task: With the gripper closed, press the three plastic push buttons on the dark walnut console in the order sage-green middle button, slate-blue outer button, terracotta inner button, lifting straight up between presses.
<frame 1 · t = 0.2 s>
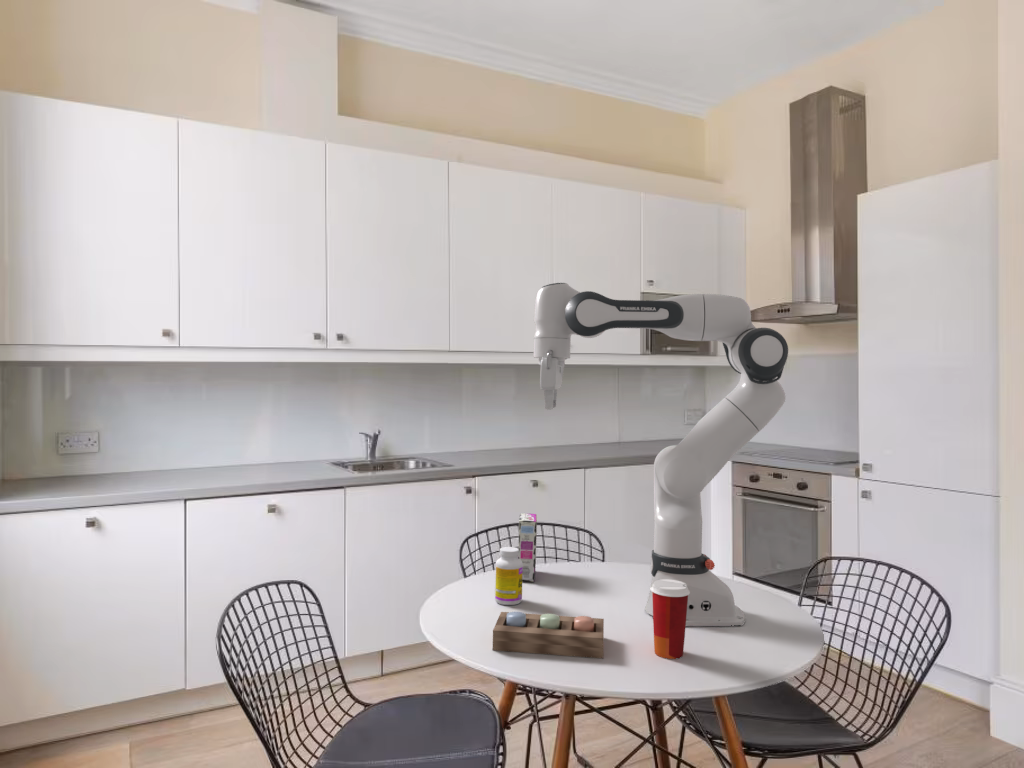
hand: (550, 408, 166), 47 cm above the table, tool pointing down, fingers open, 8 cm apart
supplement bottle: (508, 602, 168), on the table
candy bar box: (526, 576, 189), on the table
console: (549, 643, 142), on the table
paper cup: (668, 654, 138), on the table
button sage: (549, 623, 142), point 4 cm above the table, slide at 0.0 cm
button terracotta: (583, 625, 141), point 4 cm above the table, slide at 0.0 cm
button slate: (516, 620, 143), point 4 cm above the table, slide at 0.0 cm
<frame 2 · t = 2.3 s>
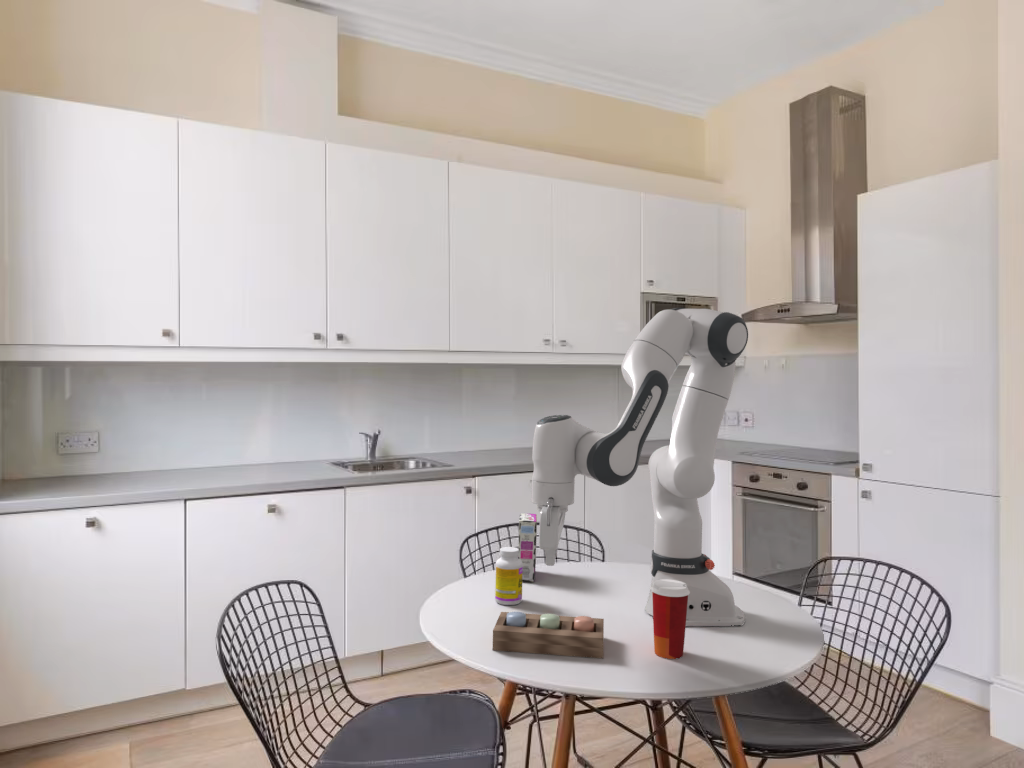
hand: (551, 561, 142), 17 cm above the table, tool pointing down, fingers open, 4 cm apart
nothing on the table moved.
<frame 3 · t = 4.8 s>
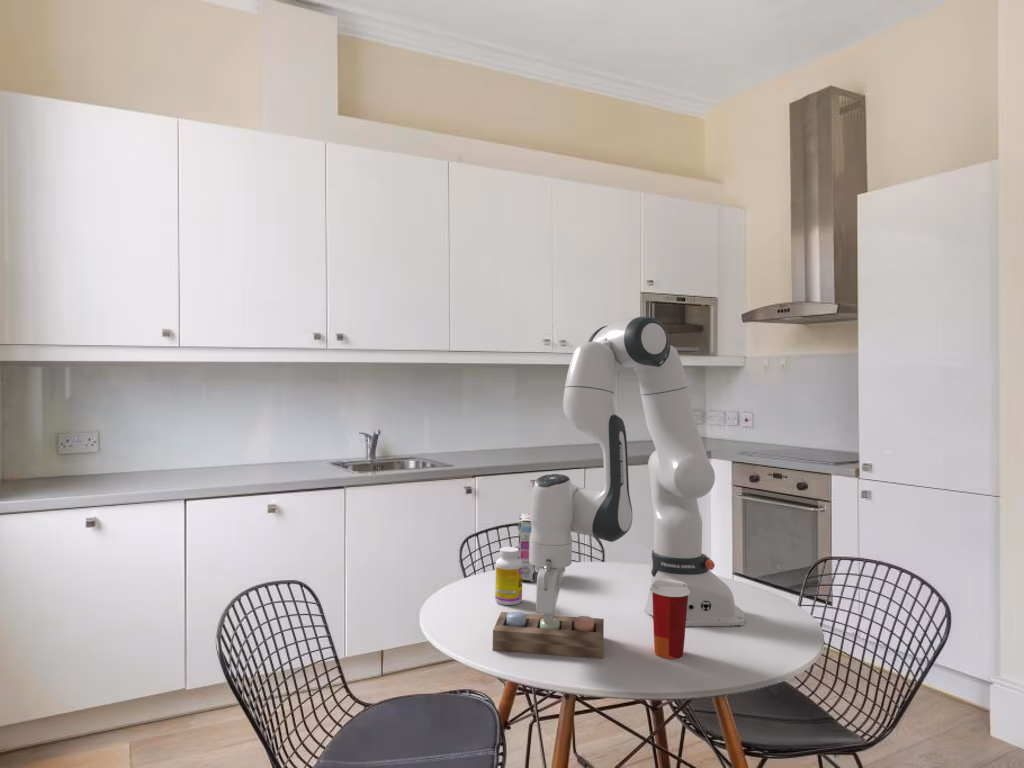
hand: (548, 621, 142), 5 cm above the table, tool pointing down, fingers closed, pressing on button sage
button sage: (549, 627, 142), point 3 cm above the table, slide at 0.9 cm, touching gripper
everything else where it was.
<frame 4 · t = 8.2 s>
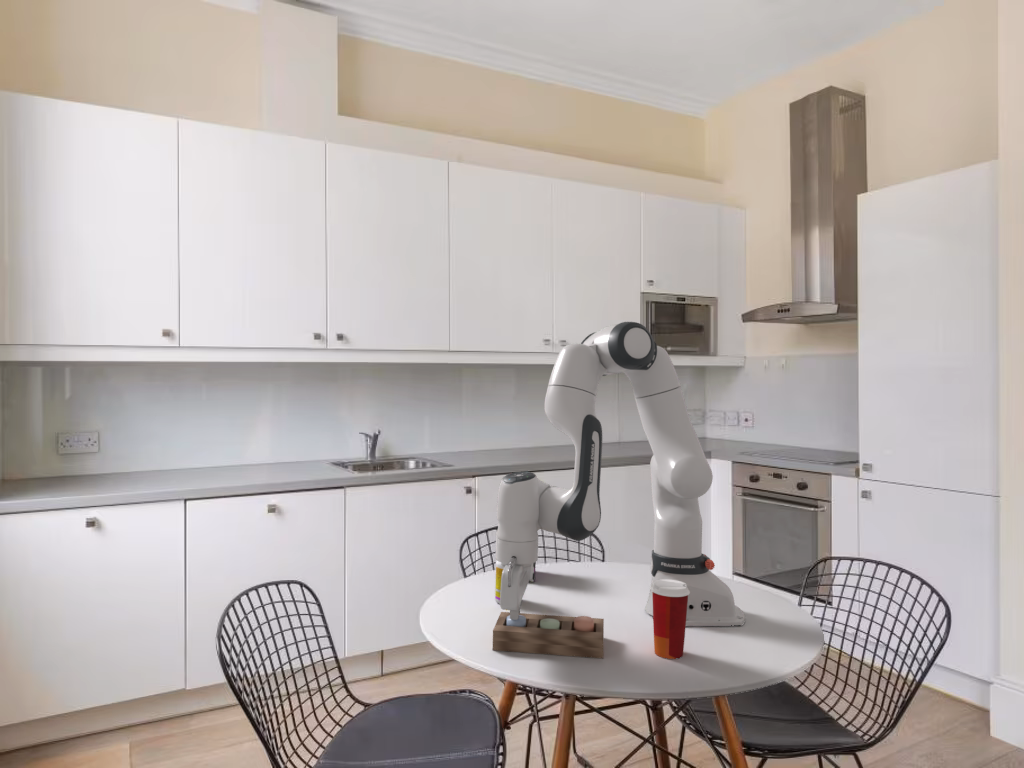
hand: (514, 617, 143), 5 cm above the table, tool pointing down, fingers closed, pressing on button slate
button sage: (549, 627, 142), point 3 cm above the table, slide at 1.0 cm
button slate: (516, 623, 143), point 4 cm above the table, slide at 0.7 cm, touching gripper
everything else where it was.
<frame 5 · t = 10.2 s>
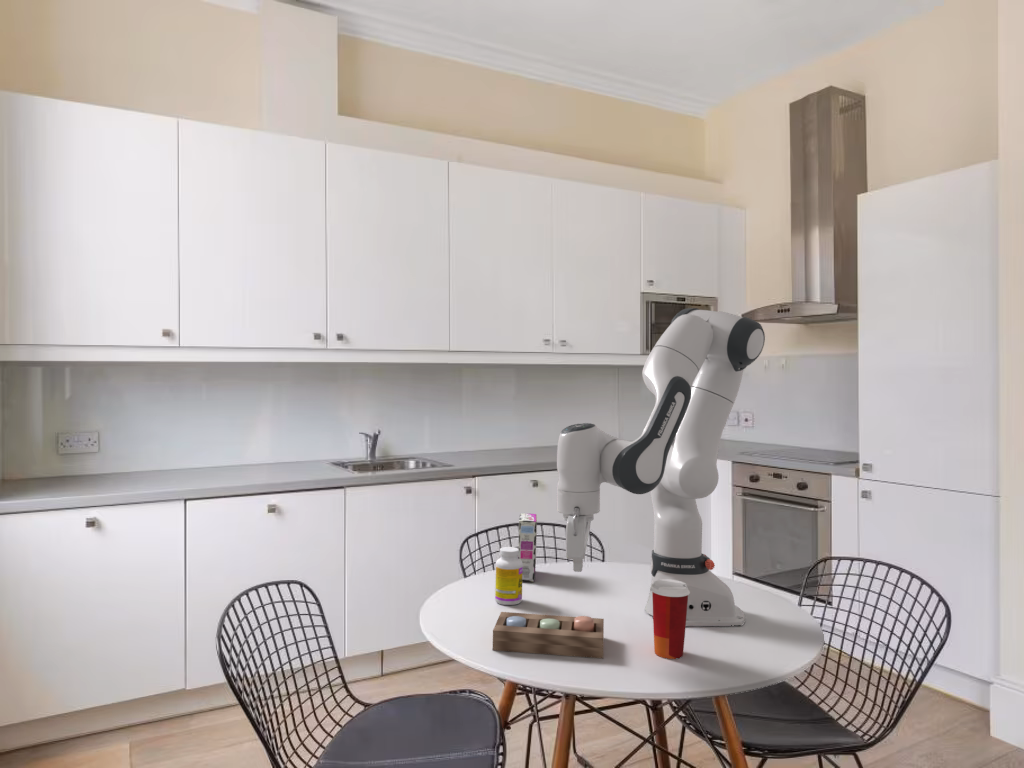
hand: (578, 569, 142), 15 cm above the table, tool pointing down, fingers closed
button slate: (516, 625, 143), point 3 cm above the table, slide at 1.0 cm
everything else where it was.
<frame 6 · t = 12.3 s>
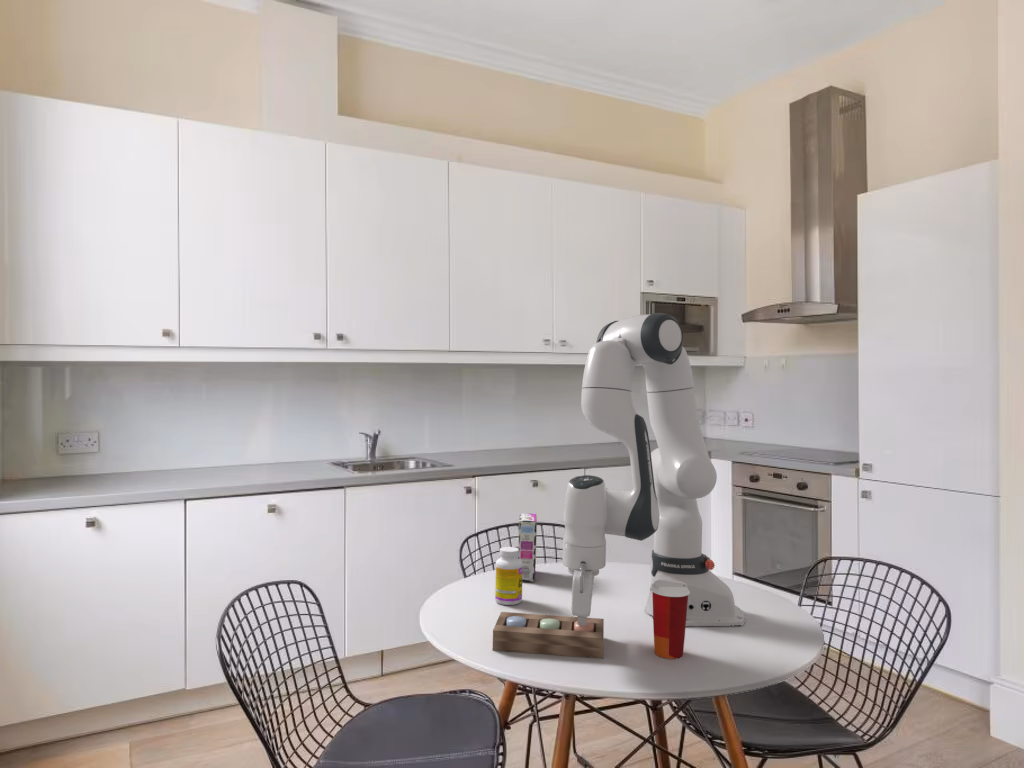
hand: (582, 623, 141), 5 cm above the table, tool pointing down, fingers closed, pressing on button terracotta
button terracotta: (583, 630, 141), point 3 cm above the table, slide at 0.9 cm, touching gripper
everything else where it was.
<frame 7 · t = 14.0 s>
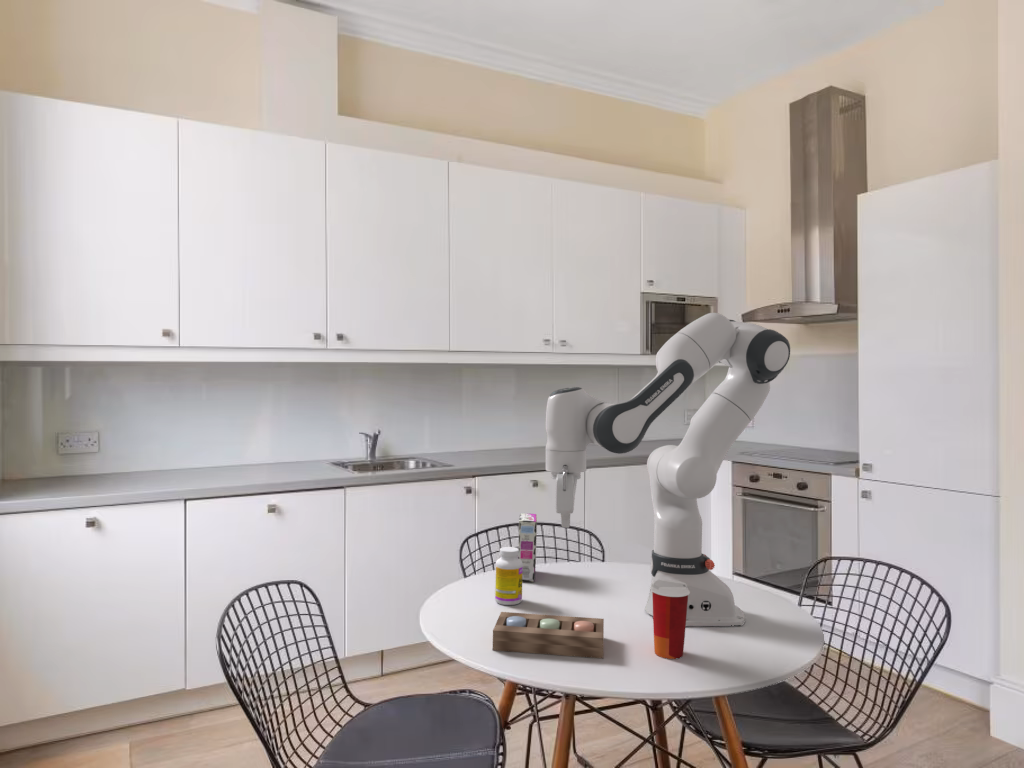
hand: (565, 526, 149), 23 cm above the table, tool pointing down, fingers closed
button terracotta: (583, 630, 141), point 3 cm above the table, slide at 1.0 cm, touching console
everything else where it was.
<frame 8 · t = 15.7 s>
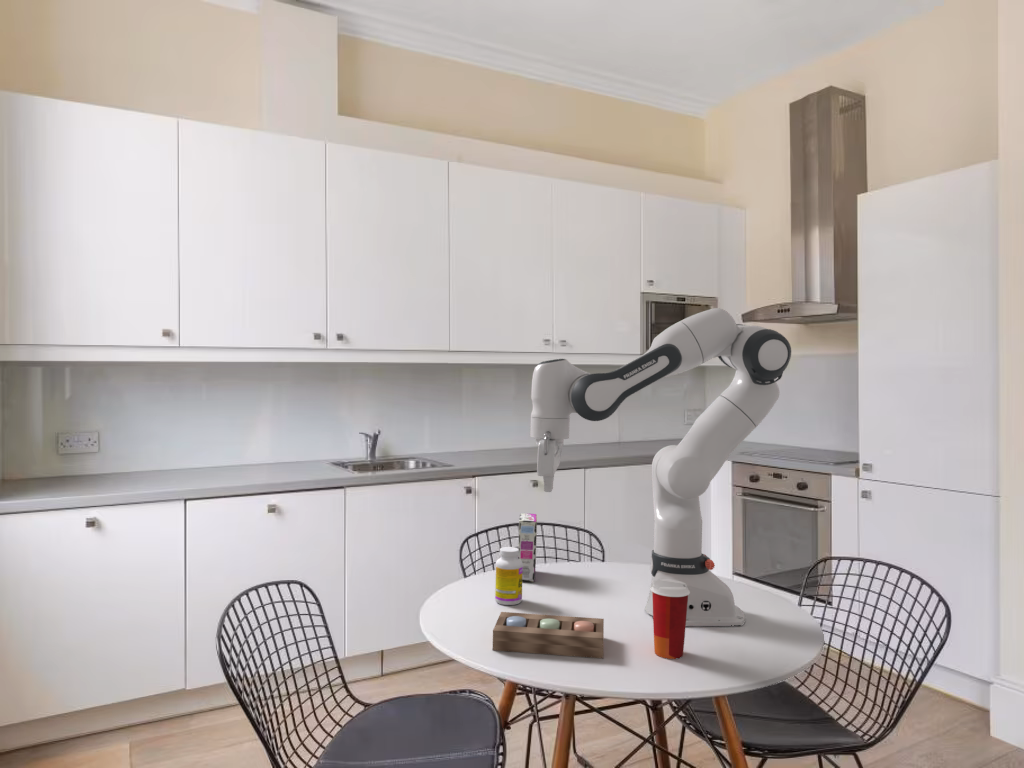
hand: (548, 491, 156), 29 cm above the table, tool pointing down, fingers closed
nothing on the table moved.
at the end: button sage slide at 1.0 cm; button slate slide at 1.0 cm; button terracotta slide at 1.0 cm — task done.
